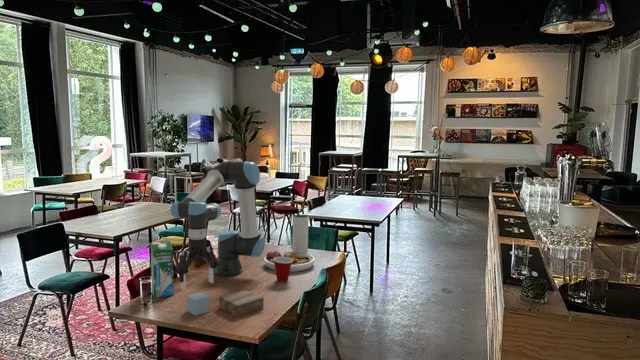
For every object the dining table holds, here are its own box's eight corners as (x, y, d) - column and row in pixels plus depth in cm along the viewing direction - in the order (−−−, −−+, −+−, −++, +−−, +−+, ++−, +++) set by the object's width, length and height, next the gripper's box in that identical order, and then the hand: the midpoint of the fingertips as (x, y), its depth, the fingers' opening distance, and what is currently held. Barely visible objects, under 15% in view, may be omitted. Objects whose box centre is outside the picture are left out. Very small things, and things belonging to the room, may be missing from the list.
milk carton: (153, 298, 210) (153, 246, 208) (151, 291, 218) (150, 242, 215) (173, 295, 214) (173, 244, 212) (170, 289, 222) (170, 240, 220)
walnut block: (219, 307, 200) (219, 297, 199) (244, 299, 210) (244, 289, 209) (237, 316, 190) (237, 305, 190) (263, 308, 200) (263, 297, 200)
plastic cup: (290, 284, 233) (290, 262, 231) (270, 282, 235) (270, 260, 234) (295, 278, 243) (295, 256, 242) (276, 276, 245) (276, 255, 244)
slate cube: (186, 311, 195) (186, 295, 195) (200, 307, 200) (200, 292, 200) (195, 316, 190) (195, 300, 190) (209, 311, 196) (209, 296, 195)
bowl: (319, 261, 278) (319, 249, 277) (307, 276, 249) (307, 262, 248) (273, 257, 284) (273, 245, 284) (256, 271, 255) (256, 258, 255)
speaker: (311, 254, 293) (311, 215, 291) (299, 257, 286) (300, 217, 283) (300, 251, 301) (300, 213, 298) (288, 253, 293) (289, 214, 291)
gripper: (175, 243, 181) (175, 294, 182) (226, 235, 198) (226, 281, 200) (166, 240, 186) (166, 289, 188) (217, 232, 204) (217, 277, 205)
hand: (197, 285), depth 194 cm, fingers open, 13 cm apart
